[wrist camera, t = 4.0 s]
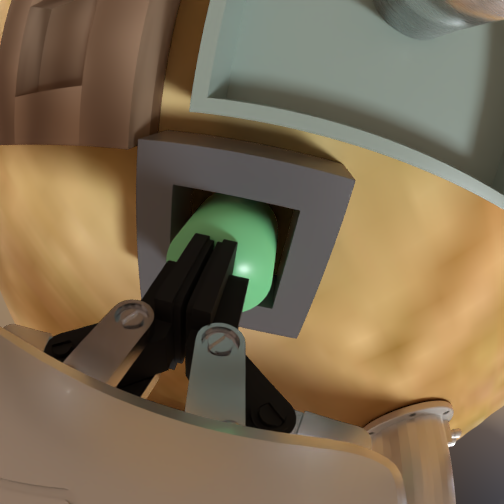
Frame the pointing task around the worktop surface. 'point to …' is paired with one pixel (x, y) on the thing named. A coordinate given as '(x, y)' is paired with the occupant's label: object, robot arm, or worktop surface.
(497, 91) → the tote
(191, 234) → the button
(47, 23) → the board
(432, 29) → the billet
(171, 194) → the button console
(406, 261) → the worktop surface
